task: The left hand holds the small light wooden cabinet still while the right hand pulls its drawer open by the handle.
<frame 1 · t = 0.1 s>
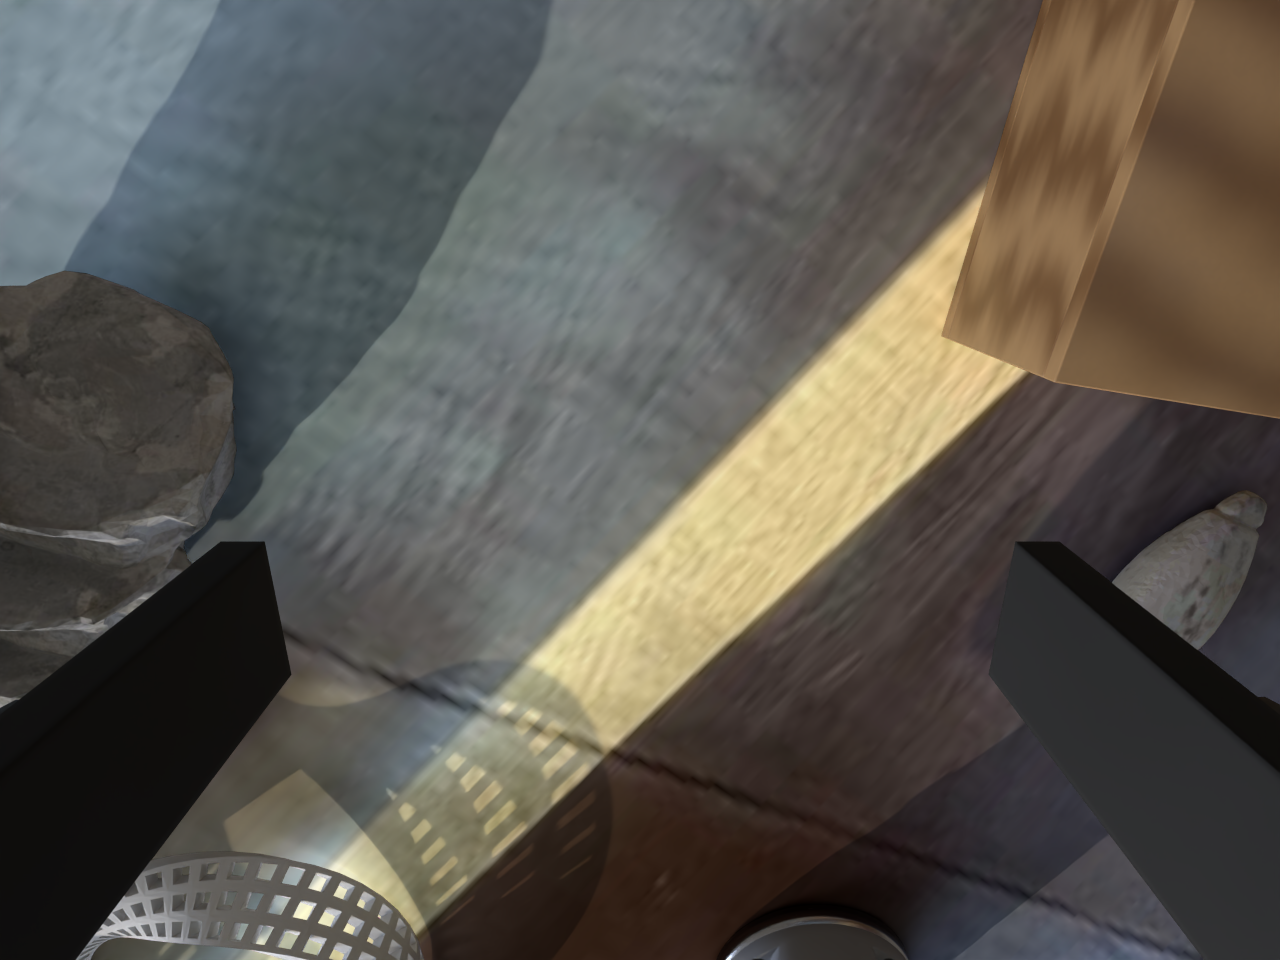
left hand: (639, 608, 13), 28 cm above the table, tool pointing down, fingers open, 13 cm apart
decorative stone: (1145, 589, 44), on the table
cabinet: (1092, 186, 36), on the table
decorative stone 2: (89, 515, 43), on the table
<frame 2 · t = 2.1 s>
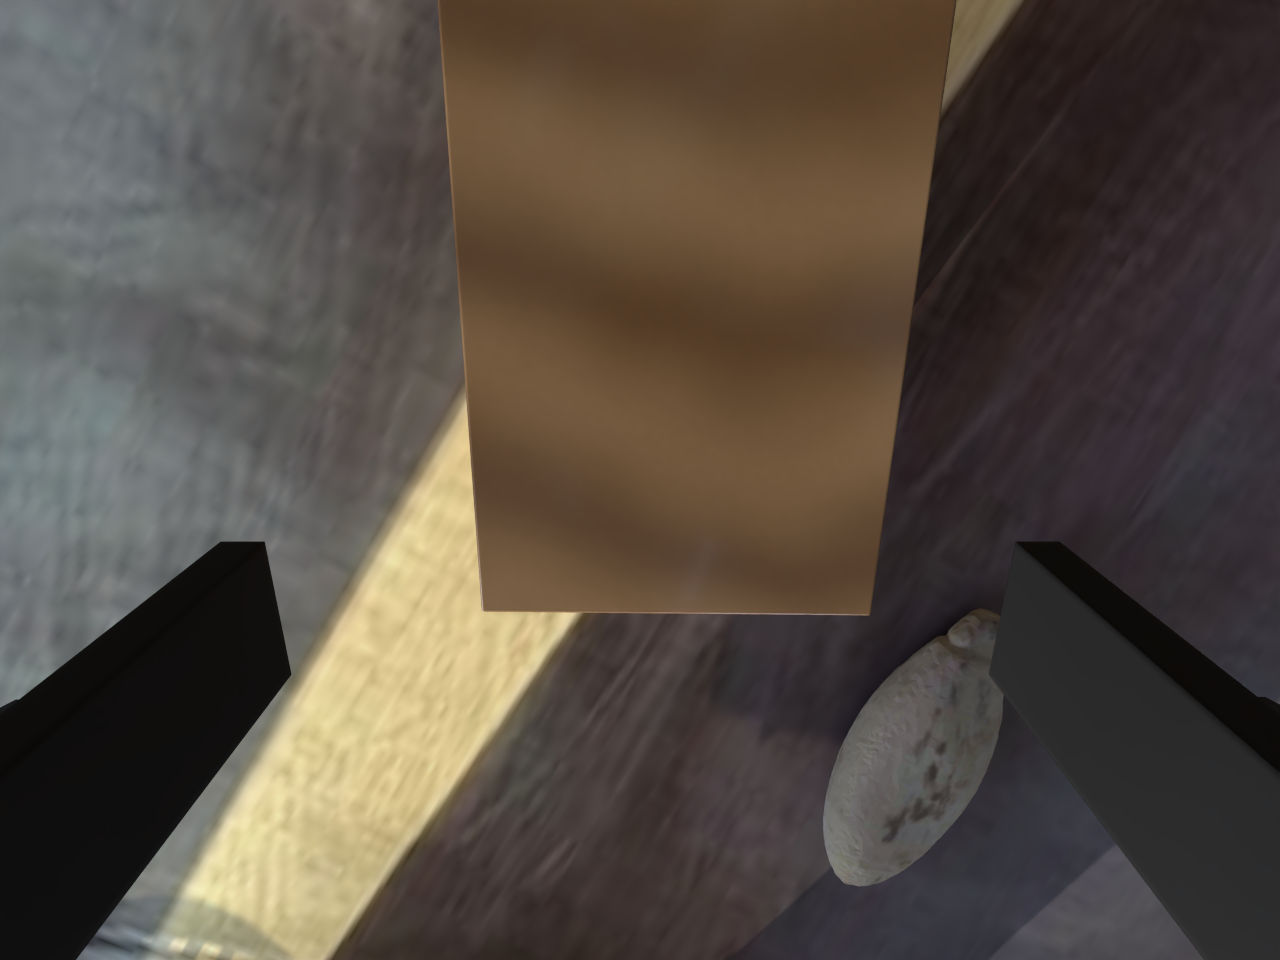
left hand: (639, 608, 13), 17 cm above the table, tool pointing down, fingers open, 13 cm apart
decorative stone: (902, 729, 35), on the table
cabinet: (668, 265, 27), on the table
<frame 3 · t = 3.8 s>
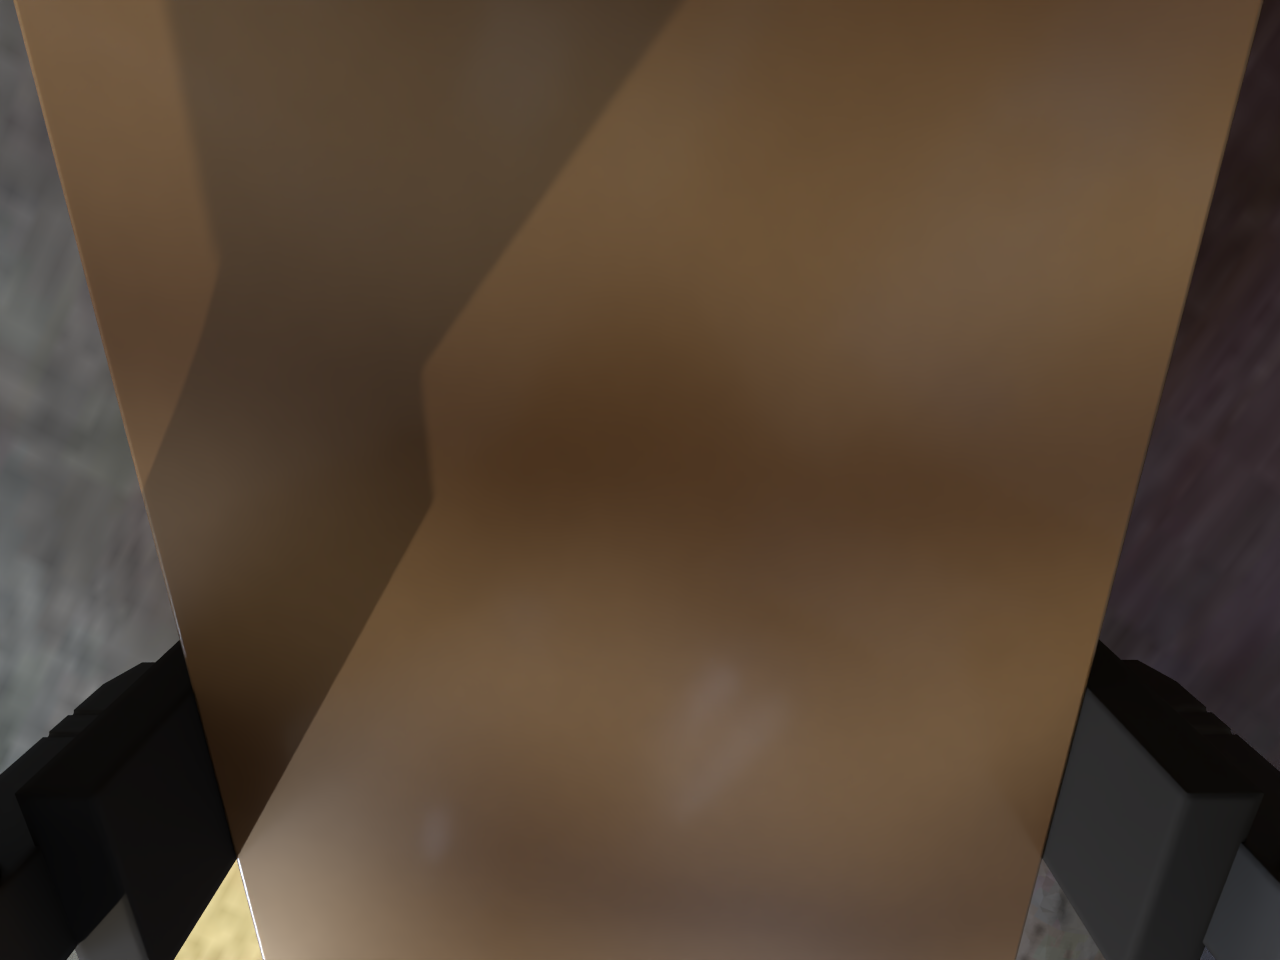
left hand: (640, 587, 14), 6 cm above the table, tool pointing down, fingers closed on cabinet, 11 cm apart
decorative stone: (974, 917, 25), on the table
cabinet: (639, 296, 18), on the table, touching left hand
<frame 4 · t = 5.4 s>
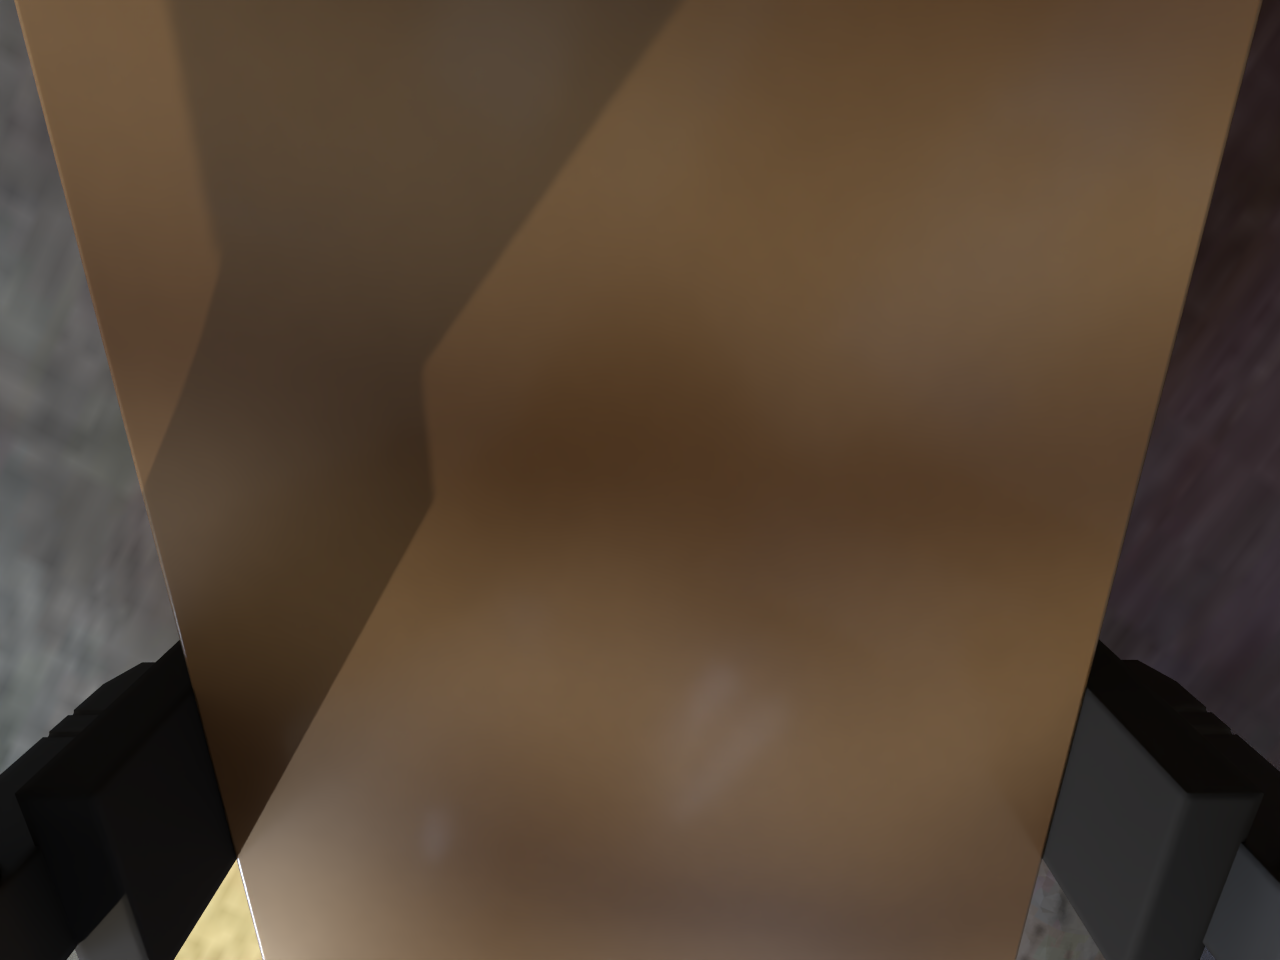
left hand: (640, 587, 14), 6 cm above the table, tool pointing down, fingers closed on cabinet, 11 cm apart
decorative stone: (974, 917, 25), on the table
cabinet: (639, 297, 18), on the table, touching left hand
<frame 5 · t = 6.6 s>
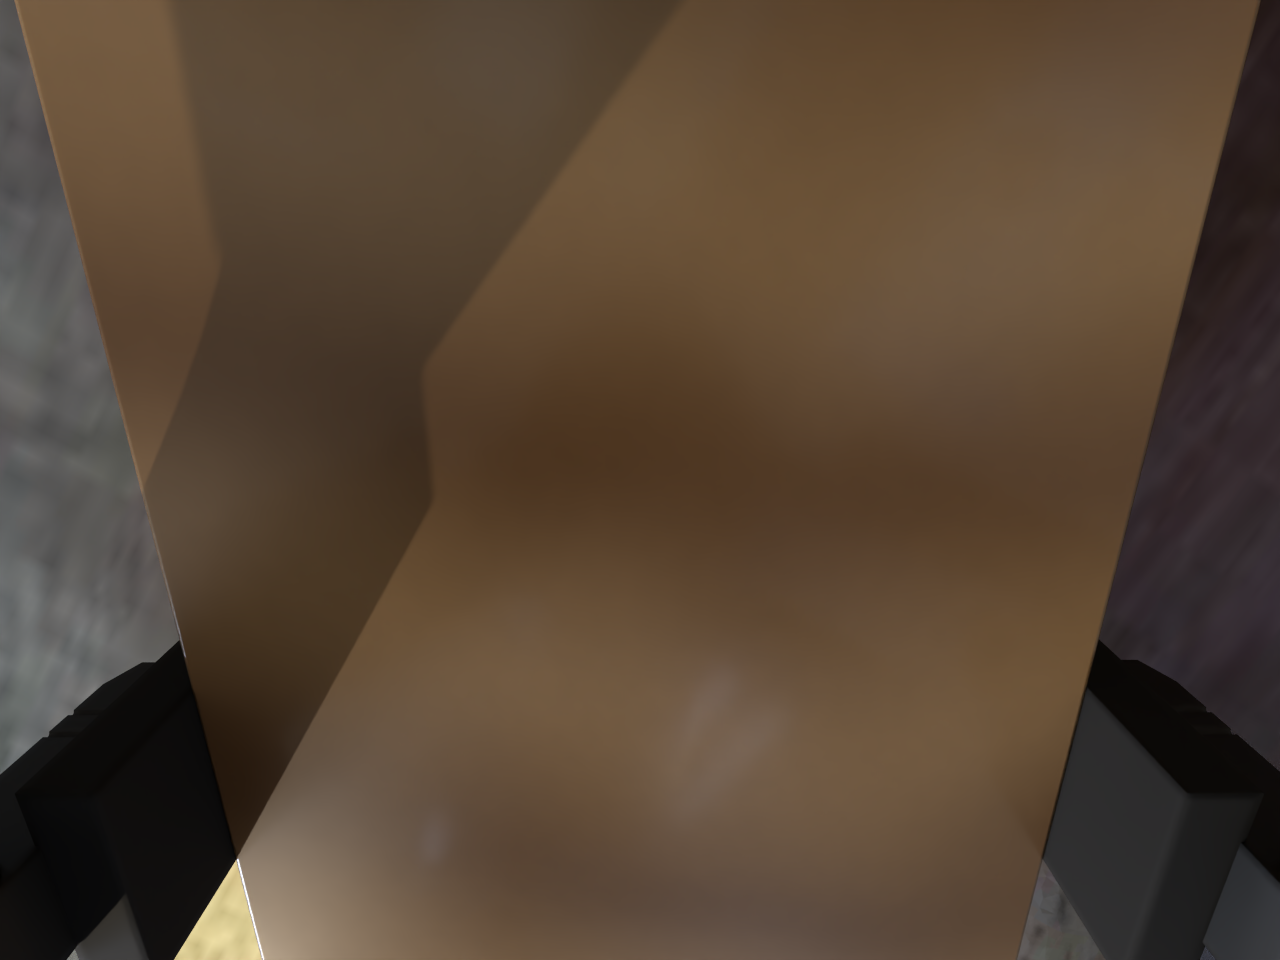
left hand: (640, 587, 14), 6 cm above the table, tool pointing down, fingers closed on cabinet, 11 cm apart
decorative stone: (974, 918, 25), on the table
cabinet: (638, 297, 18), on the table, touching left hand
when the left hand's fingers open (7 cm above the table, at t = 8.5 s): cabinet stays where it is, on the table.
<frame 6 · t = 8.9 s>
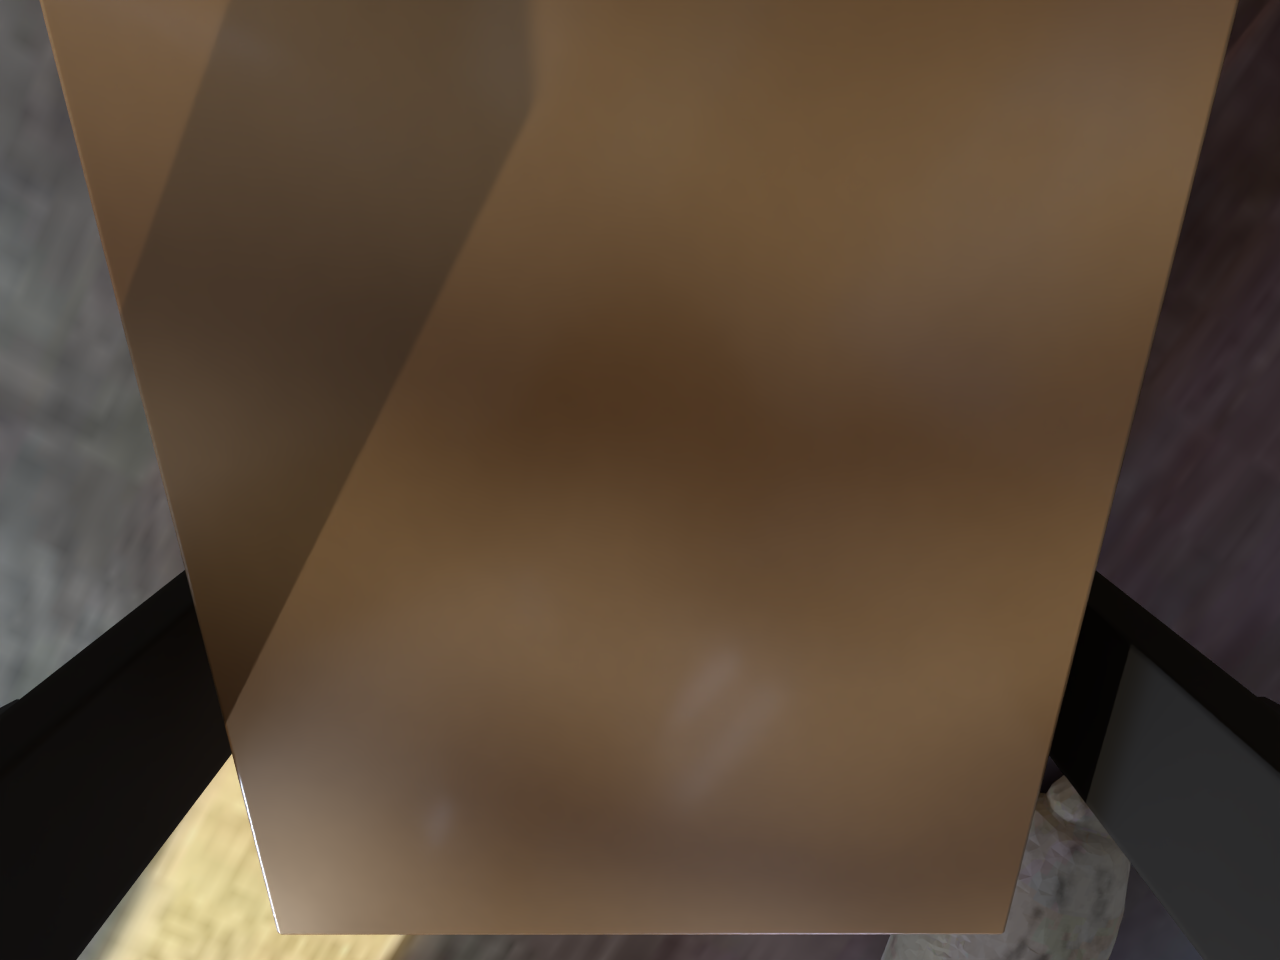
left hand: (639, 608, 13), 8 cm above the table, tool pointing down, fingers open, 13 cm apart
decorative stone: (974, 901, 26), on the table
cabinet: (640, 270, 18), on the table
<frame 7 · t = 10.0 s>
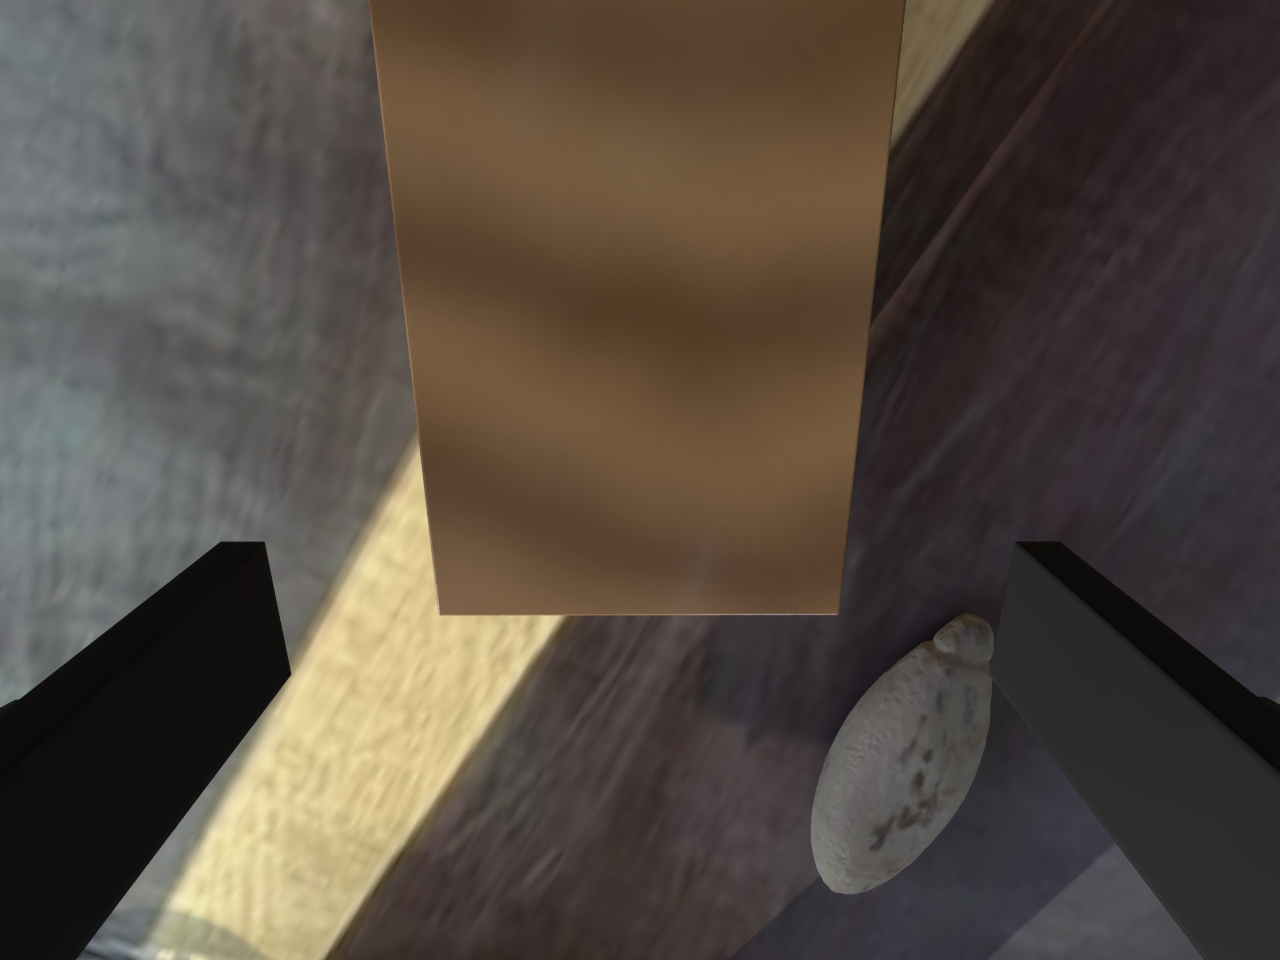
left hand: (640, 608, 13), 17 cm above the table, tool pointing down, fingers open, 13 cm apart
decorative stone: (890, 735, 34), on the table
cabinet: (638, 257, 27), on the table
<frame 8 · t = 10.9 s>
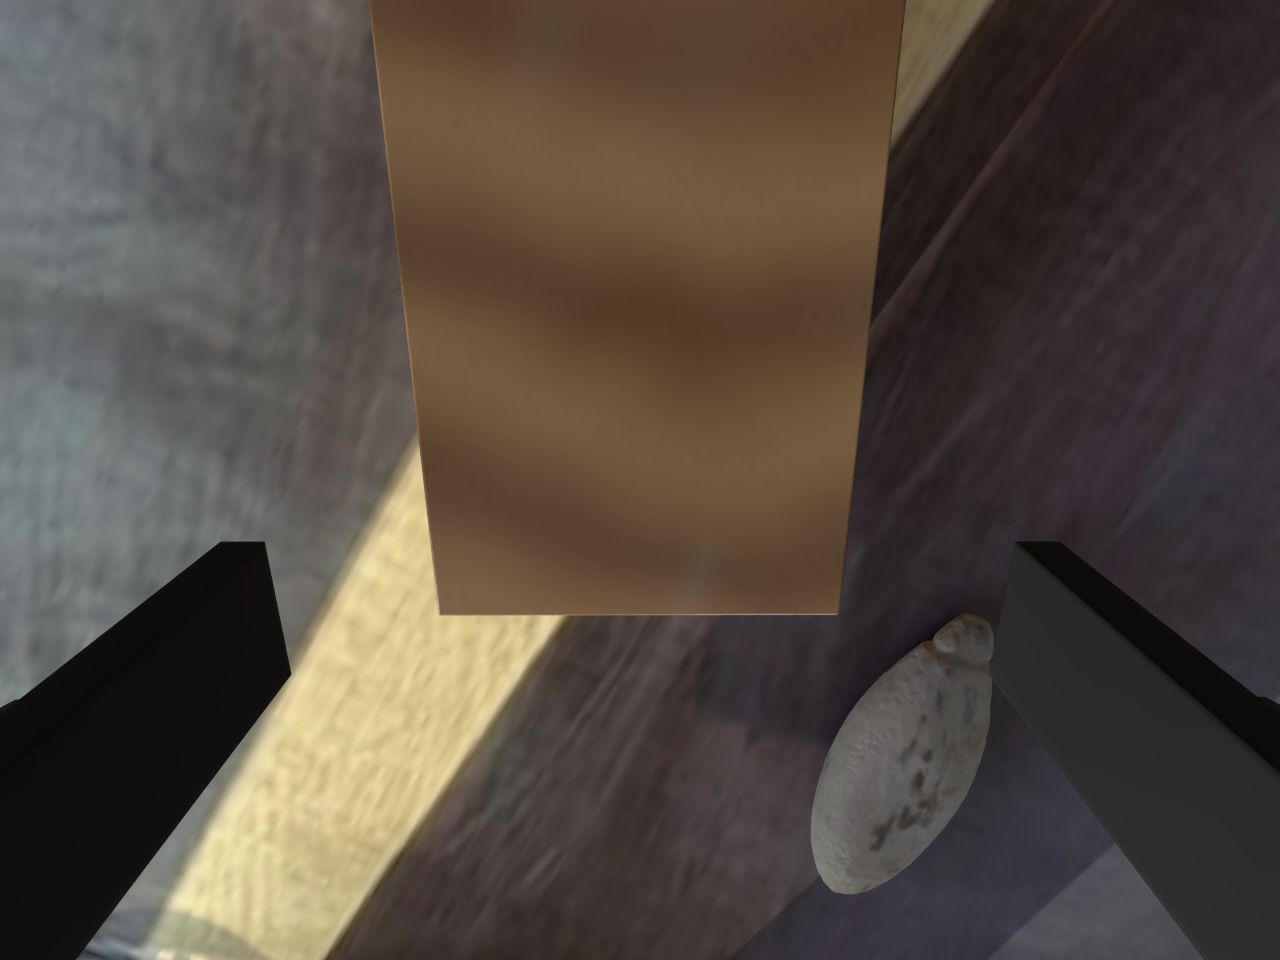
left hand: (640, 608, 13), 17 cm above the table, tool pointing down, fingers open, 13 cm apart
decorative stone: (890, 735, 34), on the table
cabinet: (638, 257, 27), on the table
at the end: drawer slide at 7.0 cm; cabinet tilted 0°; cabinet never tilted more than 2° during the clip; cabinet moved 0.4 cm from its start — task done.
